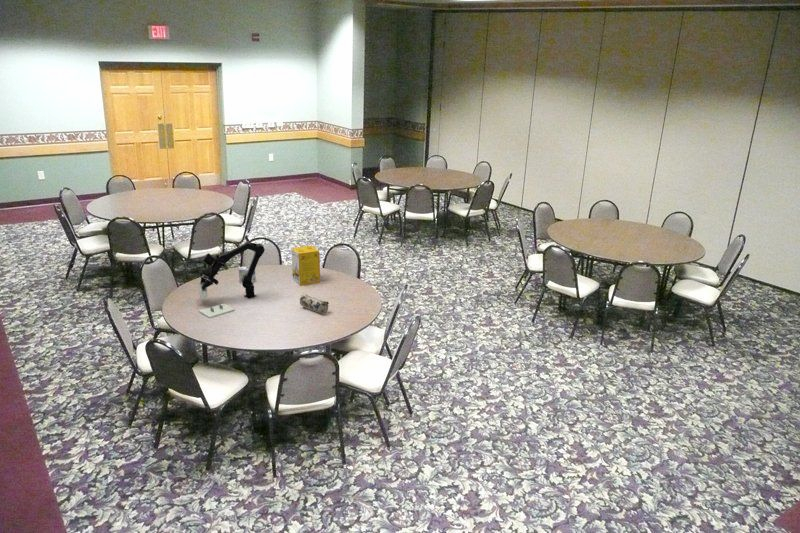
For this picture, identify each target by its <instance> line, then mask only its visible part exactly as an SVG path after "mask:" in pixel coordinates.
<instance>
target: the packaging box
mask: <svg viewBox="0 0 800 533" xmlns="http://www.w3.org/2000/svg"><path fill="white" fill-rule="evenodd" d="M290 251H291V252H290V253H291V266H292V267H291V269H292V270H291V272H292V274H291V275H292V280H293V281H294V282H295V283H296V284H297V285H298V286H300V287H301V286H306V285H313V284H320V283H321V266H320V265H321V264H320V261H321V260H320V259H321V258H320V251H319V249H317V248H316V247H315V246H313V245H303V246H297V247H291V249H290Z"/></svg>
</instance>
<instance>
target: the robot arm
mask: <svg viewBox="0 0 800 533" xmlns="http://www.w3.org/2000/svg"><path fill="white" fill-rule="evenodd" d="M248 250H250V251H251V252H253V257H252V259H251V262H250V264H249V266H248V267H249V269H248V272H247V274H246V275H243V278H242V279H241V281H242V282H241V285H242V287H243V288H245V289H244V290H245V294H244V295H243V296H244V297H245V298H247V299H249V300H250V299H253V298H255V297H257V295H256V294H255V285H254V282H253V283H252V275H253V273H254V270H255V271H256V267H257V265H258V263H259V260H260V258H262V256H263V254H264V253H265V247H264V245H263V243H255V242H249V241H246V242H245V243H243V244H241V245H239V246H237V247H235V248H233V249H231V250H228V251H224V252H221V253H220V254H219V255H215V256H213V255H212V254H210V252H207V253H206V254H205V255H204V256H203V257H202V259H201V262H203V263H204V264H206V265H207V266H210V267H207V268H204V267H200V268H199V270H198V273H197V275H199V277H200V282H199V283H202V282H205V284H204V285H203V287H202V289H205V288H207V289H208V287H211V286H212V285H214V284H215V285H217V286H218V284H219V280H217V279H216V278H215V277H216V276H218V274H219V271H220V270H221V268H226V265H225V264H226V263H228V262H229V261H230V260H232V258H234V257H236V256H238V255H239V254H241V253H244V252H245V251H248Z"/></svg>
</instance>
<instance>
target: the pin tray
mask: <svg viewBox="0 0 800 533" xmlns="http://www.w3.org/2000/svg"><path fill="white" fill-rule="evenodd" d="M235 310H236V309H234V308H233V307H231V306H229V305H227V304H226V303H221V304H218V305H217V304H216V305H213V306H210V307H207V308H203V309H200V310H198V313H200V314H201V315H203V316H204V317H206V318H208V319H213V318H215V317H218V316H222V315H225V314H229V313H233V312H235Z"/></svg>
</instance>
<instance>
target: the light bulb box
mask: <svg viewBox="0 0 800 533" xmlns="http://www.w3.org/2000/svg"><path fill="white" fill-rule="evenodd" d="M249 267H250V266H240V267H239V268H238V278H239V283H242V281H241V279H242V278H243V275H246V274H247V272H248V269H249ZM256 278H257V276H256V269H255V270H254V273H253V275H252V283H253V284H254V282H256V280H257V279H256Z"/></svg>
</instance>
